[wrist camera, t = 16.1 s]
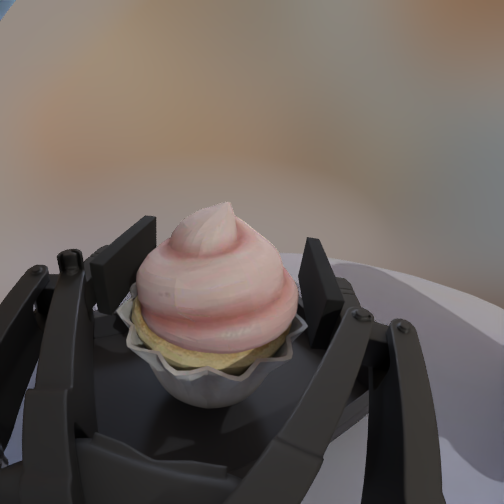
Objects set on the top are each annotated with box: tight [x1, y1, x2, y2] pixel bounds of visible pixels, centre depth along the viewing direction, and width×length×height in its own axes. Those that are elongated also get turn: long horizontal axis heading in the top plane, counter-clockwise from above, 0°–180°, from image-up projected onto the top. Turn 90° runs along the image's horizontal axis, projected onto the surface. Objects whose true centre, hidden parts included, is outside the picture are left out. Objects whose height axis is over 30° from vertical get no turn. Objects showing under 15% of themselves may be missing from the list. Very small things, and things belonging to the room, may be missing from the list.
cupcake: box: [117, 202, 308, 409], centre depth 13 cm, size 9×9×10 cm
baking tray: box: [93, 297, 369, 479], centre depth 16 cm, size 20×15×3 cm
